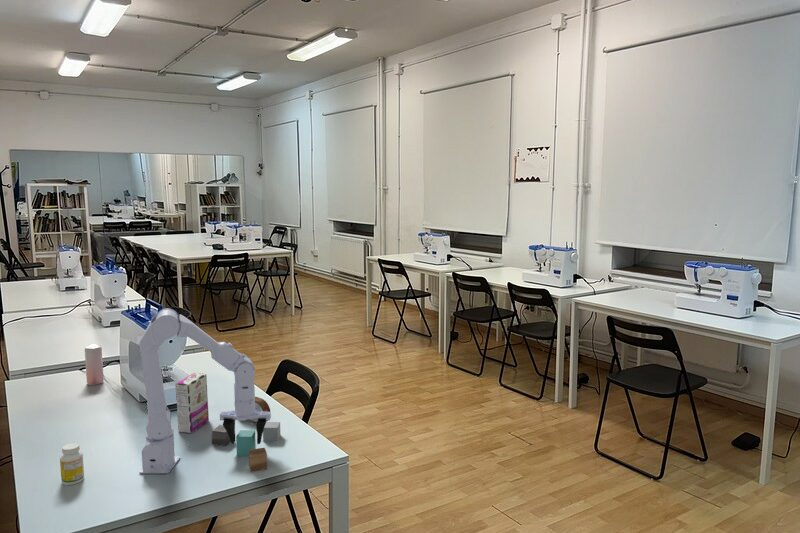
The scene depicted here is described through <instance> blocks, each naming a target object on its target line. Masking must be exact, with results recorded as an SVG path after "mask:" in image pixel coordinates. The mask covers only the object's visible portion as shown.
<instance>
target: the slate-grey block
mask: <svg viewBox="0 0 800 533" xmlns="http://www.w3.org/2000/svg"><path fill="white" fill-rule="evenodd" d="M280 438H281V421H267V422H266V424H265V427H264V430H263V433H262V442H279V439H280Z"/></svg>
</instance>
